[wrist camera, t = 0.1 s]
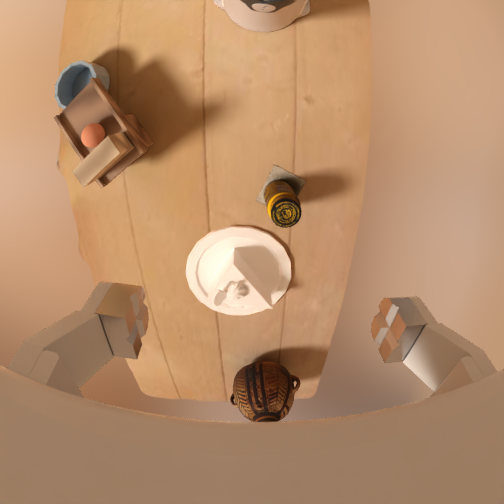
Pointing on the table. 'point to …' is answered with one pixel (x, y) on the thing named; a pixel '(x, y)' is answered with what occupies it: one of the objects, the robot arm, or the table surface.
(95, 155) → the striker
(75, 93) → the cup
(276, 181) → the condiment
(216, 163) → the table surface
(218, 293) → the dish
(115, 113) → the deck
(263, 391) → the vase
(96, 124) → the ball
